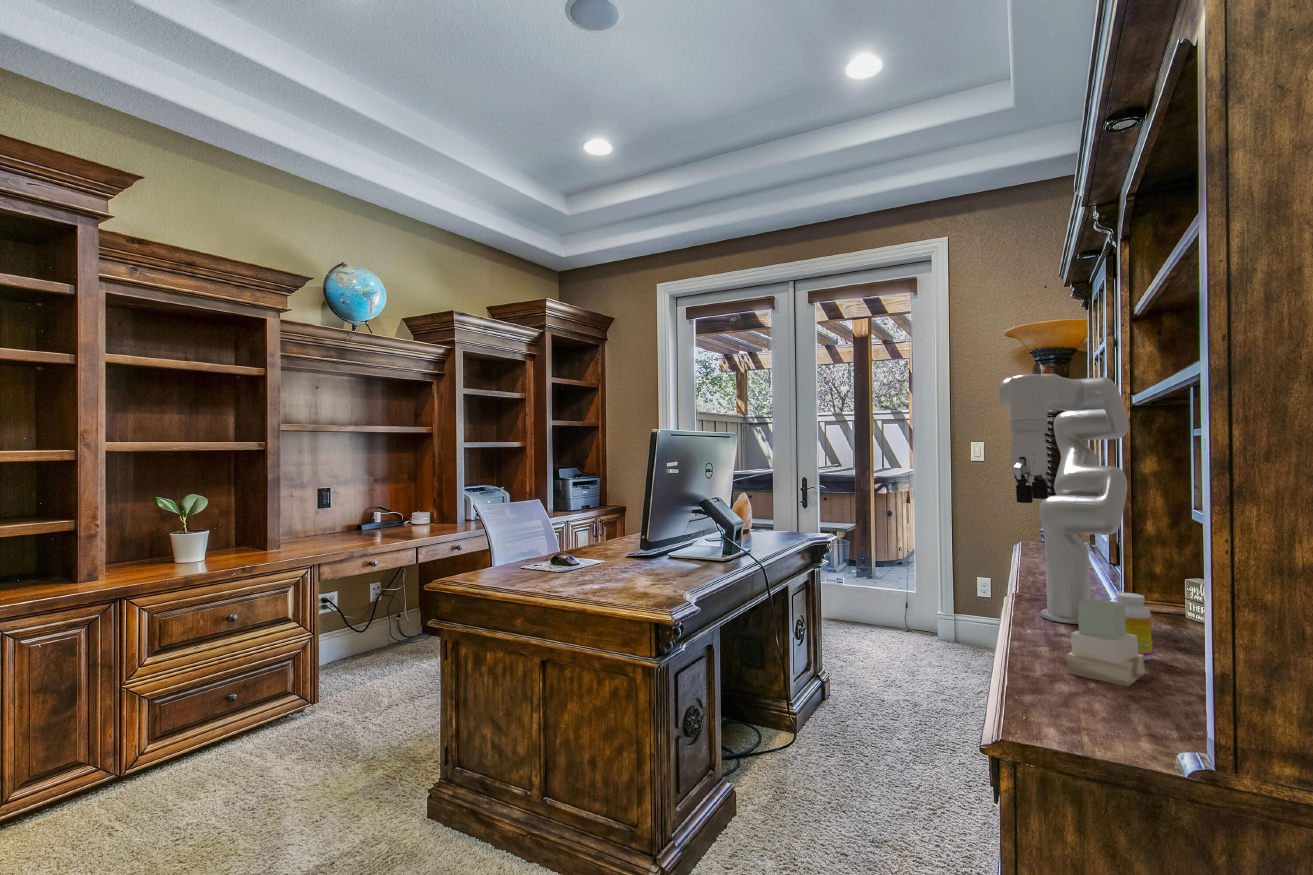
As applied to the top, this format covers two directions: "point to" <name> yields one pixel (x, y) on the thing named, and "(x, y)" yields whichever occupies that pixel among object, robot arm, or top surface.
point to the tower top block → (1105, 647)
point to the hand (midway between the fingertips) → (1032, 500)
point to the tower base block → (1106, 669)
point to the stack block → (1102, 618)
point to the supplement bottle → (1138, 622)
